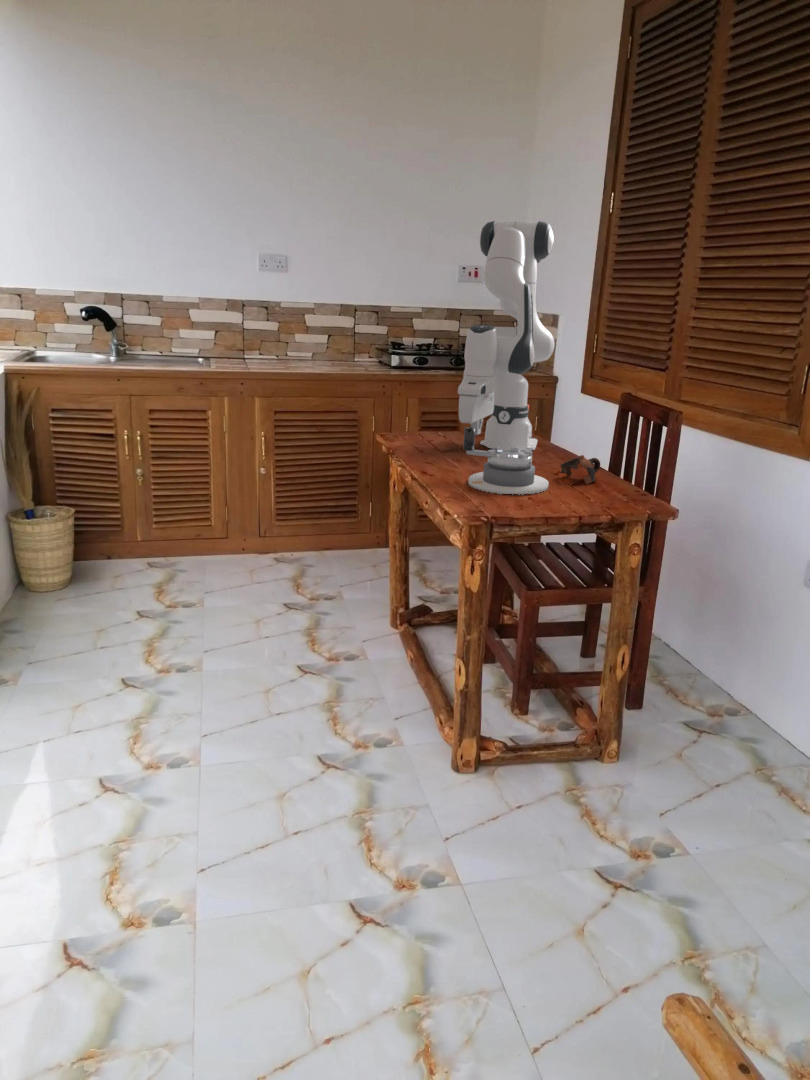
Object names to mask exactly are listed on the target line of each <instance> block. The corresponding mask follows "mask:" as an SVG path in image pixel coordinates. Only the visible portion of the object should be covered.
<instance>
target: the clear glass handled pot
mask: <svg viewBox="0 0 810 1080" xmlns="http://www.w3.org/2000/svg"><path fill="white" fill-rule="evenodd" d="M463 431H464V432H463V433H464V434H463V446H462V447H463V451H466V453H465V454H466V455H468V456H469V455H471V456H477V457H478V456H479V457H487V462H488V466H490V467H493V468H496V469H502V470H526V469H529V468H531V467H532V465H533V450H522V451H520V447H511V450H503V447H499V446H498V447H493V449H488V450H480V449H475V443H476V442H475V440H476V439H475V438H476V435H475V428H473V427H471V426H468V427H467V426H466V427H464V430H463Z"/></svg>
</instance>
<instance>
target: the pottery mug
mask: <svg viewBox="0 0 810 1080" xmlns="http://www.w3.org/2000/svg"><path fill="white" fill-rule="evenodd" d="M579 464H580V465H581V467H582V468H584V469H586V471H587V473H588V474H587V475H585V476H584V477H583V480H584V483H585V485H589V484H592V483H593V482H596V474H597V473H598V471H599V470H600V468H601V461H600V459H598V458H597V457H591V458H590V459H589V458H585V455H584V454H581V455H579V456H576V457H575V458H573V459H570V460H568V461H565V462H564V463H561V464H560V465H559V467H560V469H561V470H560V473H561V474H565V475H566V477H568V476H569V477H571V476H572V475H573V472H572V469H574V470H578V469H579V467H578V465H579ZM593 464H594V465H593Z"/></svg>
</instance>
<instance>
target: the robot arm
mask: <svg viewBox="0 0 810 1080" xmlns="http://www.w3.org/2000/svg"><path fill="white" fill-rule="evenodd" d="M554 237H555V236H554V231H553V227H552V226H551V225H550V223H548V222H544V221H542V220H541V221H540V220H539V221H532V220H524V219H517V220H502V221H497V220H493V221H489V222H486V223H485V224H484V226H483V227H482V229H481V231H480V235H479V246H480V251H481V252H482V254H483V255H484V256H485V257H486V263H485V266H484V273H483V274H484V276H483V280H484V281H483V282H484V284H485V287H486V289H487V290H488V291H489V293H491V294H492V295H493V296H494V297H496V298H497V299H499V305H500V308H501V310H502V311H503V312H504V313H506V314H507V315H508V316H510V317H512V318H514V319H515V320H516V321H517V326H515V327H513V326H510V327H509V326H493V325H491V324H485V323H484V324H481V323H480V324H474V325H472V326H469V328H468V329H467V334H466V340H465V346H464V362H465V363H464V365H465V367H464V369H463V374H462V375H463V378H462V381H461V383H460V384H459V385H458V387H457V394H458V395H459V398H458V419H459V422H460V423H461V424H470V427H473V428H475V436H478V435H480V434H481V433H482V426H483V423H484V418H486V417H488V416H490V418H489V419H487V420H486V425H485V431H484V432H485V433H484V439H483V440H480V443H479V444H480V445H482V446H485V447H486V448H489V449H490V450H493V447H498V446H499V447H503V450H511V447H520V451H524V450H531V451H535V450H536V448H537V445H538V439H537V438H535V437H534V438H533V433H532V431H533V425H532V423H531V422H530V419H529V417H528V416H529V409H530V405H529V404H528V395H529V382H528V380H527V379H526V377H525V376H523V374H525V373H526V372H528V371H529V370H530V369H532V367H533V365H534V363H539V362H545V361H548V359H550V358H551V356H552V355H553V354H554V350H555V347H556V346H555V340H554V339H555V338H554V336H553V334H552V333H551V331H549V330H548V328H546V327H545V326H544V325H543V323H542V321H541V320H540V318H539V315H538V313H537V306H536V305H537V302H536V301H537V281H538V263H540V262H541V261H542V260H544V259H546V258H547V257H548V256H549V255H550V254H551V251H552V248H553V246H554V241H555V240H554V239H555V238H554Z"/></svg>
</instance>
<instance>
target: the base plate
mask: <svg viewBox="0 0 810 1080" xmlns="http://www.w3.org/2000/svg"><path fill="white" fill-rule="evenodd" d="M535 472H536V467H535V465H533V464H532V467H531V468H529V469H526V470H502V469H496V468H493V467H490V466H488V461H487V462H485V463H484V464H483V471H480V472H476V473H473V474H471V475H470V476H469V477H468V481H467V482H468V485H469V487H471V488H472V489H475V490H477V489H478V491H480V490H481V491H480V492H484V491H485V493H488V492H490V494H494V493H497V494H496V495H502V494H512V495H511V496H514V495H513V494H518V495H517V496H525V495H524V494H531V495H535V493H537V494H541V493H544V492H546V491H548V489H549V486H550V485H549V484H550V483H549V482H550V481H548V480H547V479H546V478H545V477H543V476H539V475H536V474H535ZM543 491H544V492H543ZM540 492H541V493H540ZM520 494H521V495H520Z"/></svg>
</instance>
